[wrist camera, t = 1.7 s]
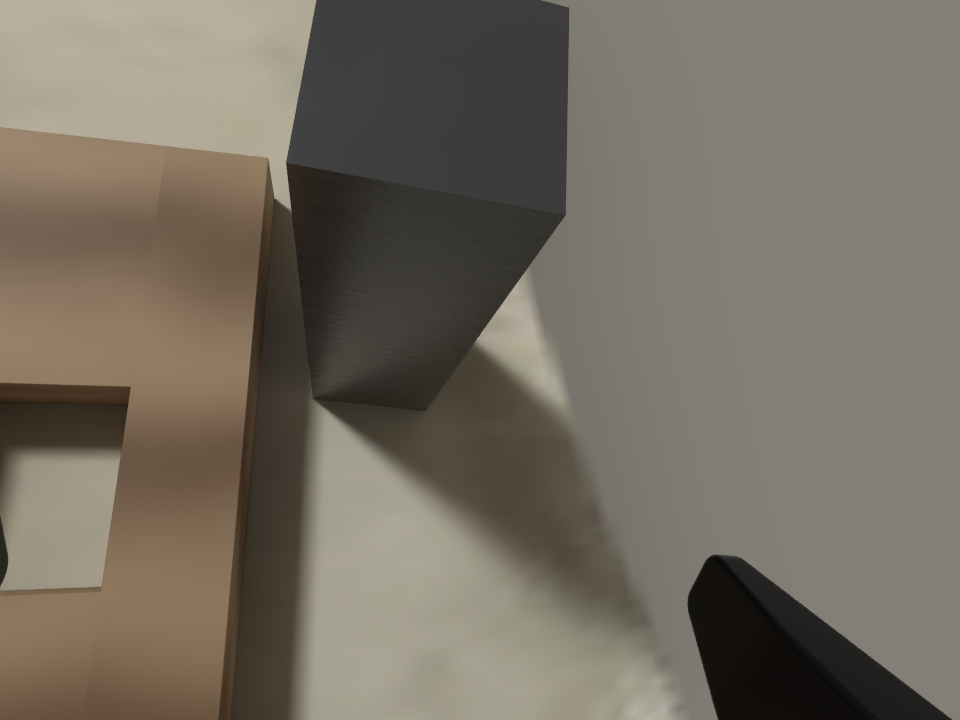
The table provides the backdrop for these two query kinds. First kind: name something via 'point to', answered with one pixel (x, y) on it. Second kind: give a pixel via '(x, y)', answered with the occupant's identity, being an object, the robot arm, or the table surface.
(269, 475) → the table surface
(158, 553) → the post foot
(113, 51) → the table surface
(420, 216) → the dark grey square post
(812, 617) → the robot arm
